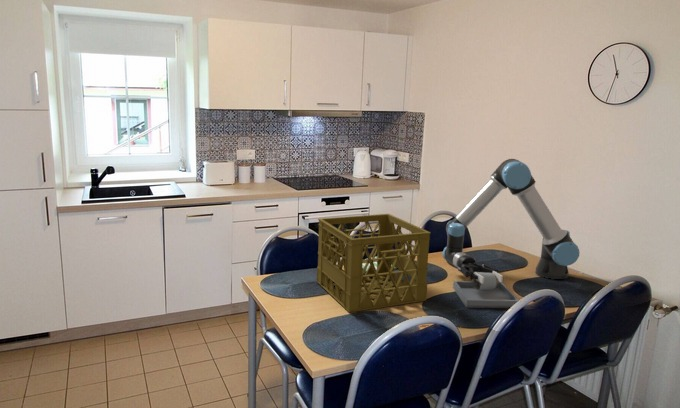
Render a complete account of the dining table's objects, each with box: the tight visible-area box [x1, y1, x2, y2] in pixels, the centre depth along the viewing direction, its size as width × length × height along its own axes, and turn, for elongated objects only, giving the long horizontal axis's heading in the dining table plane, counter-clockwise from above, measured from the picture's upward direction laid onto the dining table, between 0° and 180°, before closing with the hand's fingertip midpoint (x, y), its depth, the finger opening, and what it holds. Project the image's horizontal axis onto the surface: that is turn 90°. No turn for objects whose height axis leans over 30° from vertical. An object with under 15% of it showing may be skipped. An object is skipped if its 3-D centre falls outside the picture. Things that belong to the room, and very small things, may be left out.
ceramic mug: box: [472, 272, 498, 290], centre depth 219 cm, size 11×8×8 cm
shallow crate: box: [452, 280, 520, 309], centre depth 219 cm, size 22×22×3 cm
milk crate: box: [316, 213, 432, 313], centre depth 218 cm, size 36×35×30 cm
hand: (492, 279), depth 213 cm, fingers closed on ceramic mug, 8 cm apart
